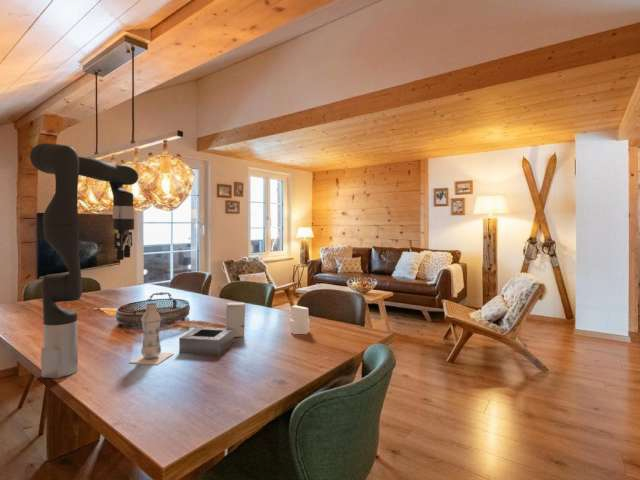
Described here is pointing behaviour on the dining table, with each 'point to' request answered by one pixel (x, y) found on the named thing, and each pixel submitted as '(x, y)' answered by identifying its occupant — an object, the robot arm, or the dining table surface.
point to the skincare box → (236, 317)
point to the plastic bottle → (151, 332)
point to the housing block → (206, 341)
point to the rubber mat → (151, 359)
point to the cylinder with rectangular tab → (299, 320)
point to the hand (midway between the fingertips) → (123, 258)
